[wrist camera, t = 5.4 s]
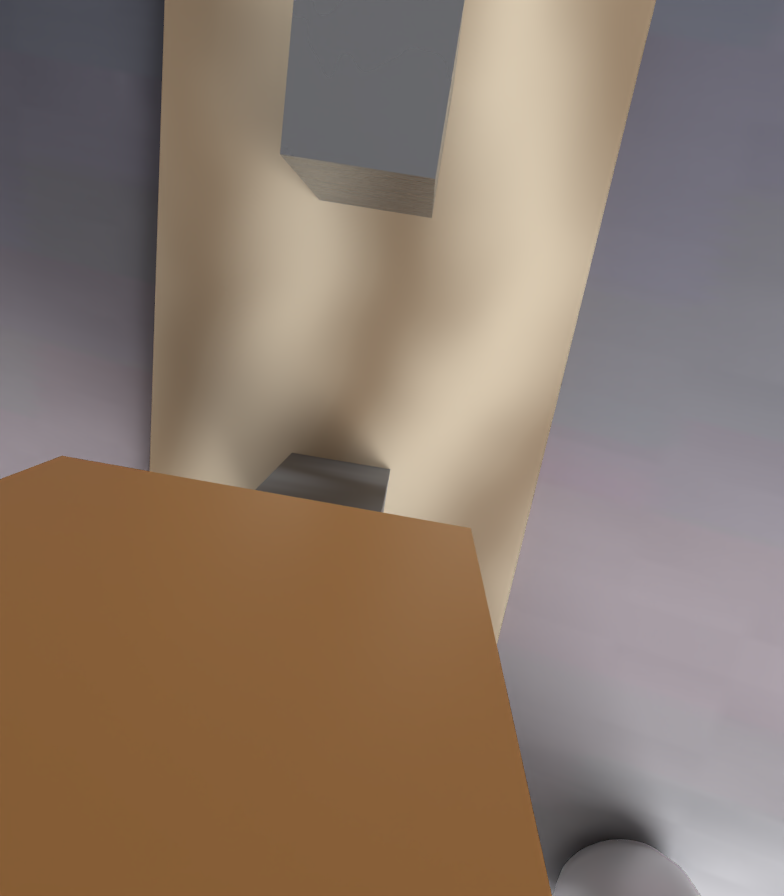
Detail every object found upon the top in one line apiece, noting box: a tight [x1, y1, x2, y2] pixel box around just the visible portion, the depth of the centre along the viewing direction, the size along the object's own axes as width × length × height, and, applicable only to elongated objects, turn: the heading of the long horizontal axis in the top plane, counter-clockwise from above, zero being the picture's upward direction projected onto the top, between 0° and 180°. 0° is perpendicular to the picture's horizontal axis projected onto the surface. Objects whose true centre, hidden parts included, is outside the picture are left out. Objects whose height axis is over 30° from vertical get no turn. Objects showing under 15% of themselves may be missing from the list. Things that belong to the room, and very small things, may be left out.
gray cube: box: [280, 0, 465, 218], centre depth 13 cm, size 4×4×4 cm
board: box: [150, 0, 656, 644], centre depth 15 cm, size 14×22×6 cm, turn 171°
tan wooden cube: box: [0, 456, 552, 896], centre depth 6 cm, size 6×6×6 cm
